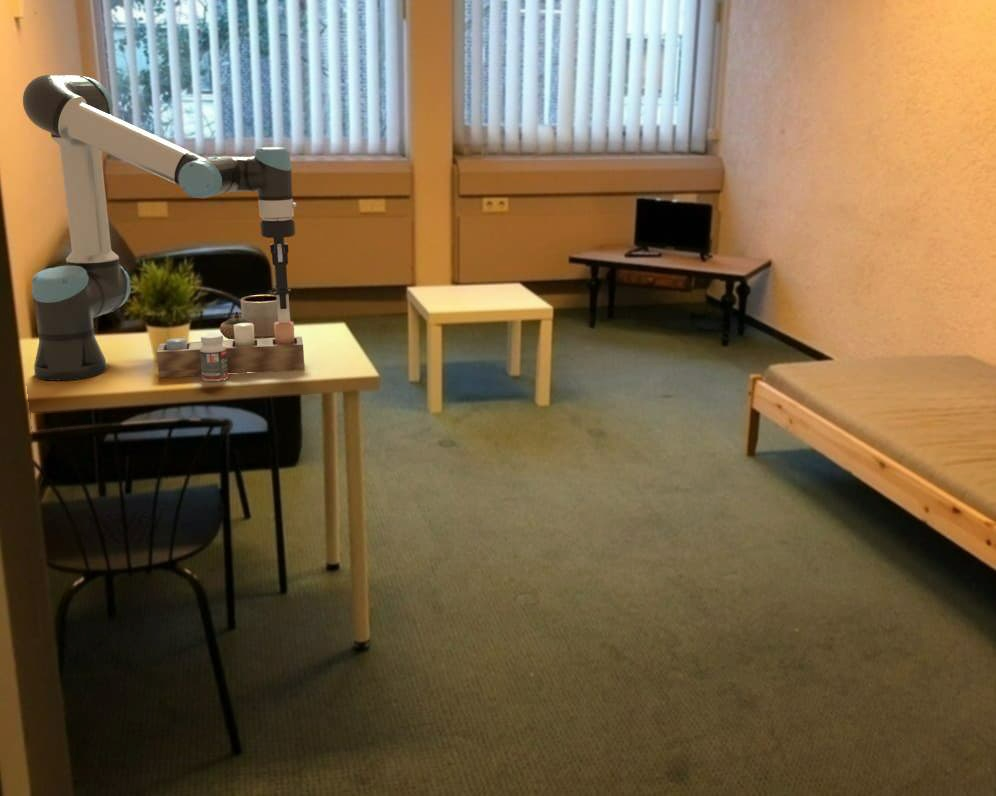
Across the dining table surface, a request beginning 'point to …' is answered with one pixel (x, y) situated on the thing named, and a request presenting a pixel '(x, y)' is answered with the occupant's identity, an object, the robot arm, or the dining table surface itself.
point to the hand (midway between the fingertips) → (284, 321)
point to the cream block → (244, 334)
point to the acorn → (231, 326)
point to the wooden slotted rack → (233, 358)
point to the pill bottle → (213, 357)
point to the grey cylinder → (176, 344)
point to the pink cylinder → (284, 333)
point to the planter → (260, 314)
